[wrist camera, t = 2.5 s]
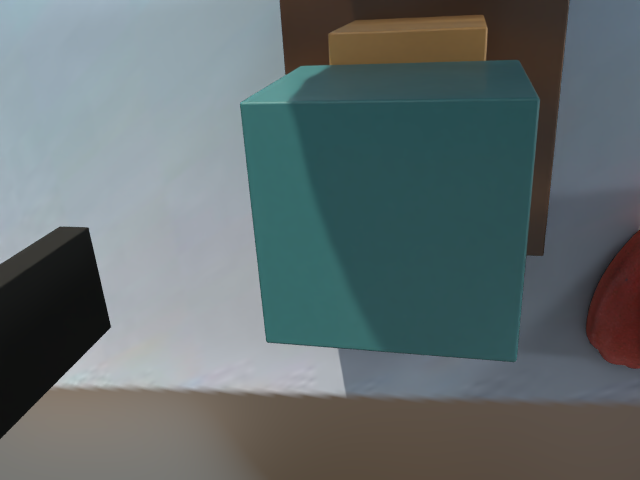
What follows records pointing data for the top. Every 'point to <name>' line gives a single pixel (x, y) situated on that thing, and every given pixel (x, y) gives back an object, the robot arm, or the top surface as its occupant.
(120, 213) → the top surface
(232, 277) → the top surface
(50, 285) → the robot arm
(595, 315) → the stacking bear
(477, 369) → the top surface
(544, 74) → the walnut base
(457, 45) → the oak brick
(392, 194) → the teal cube
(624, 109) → the top surface
